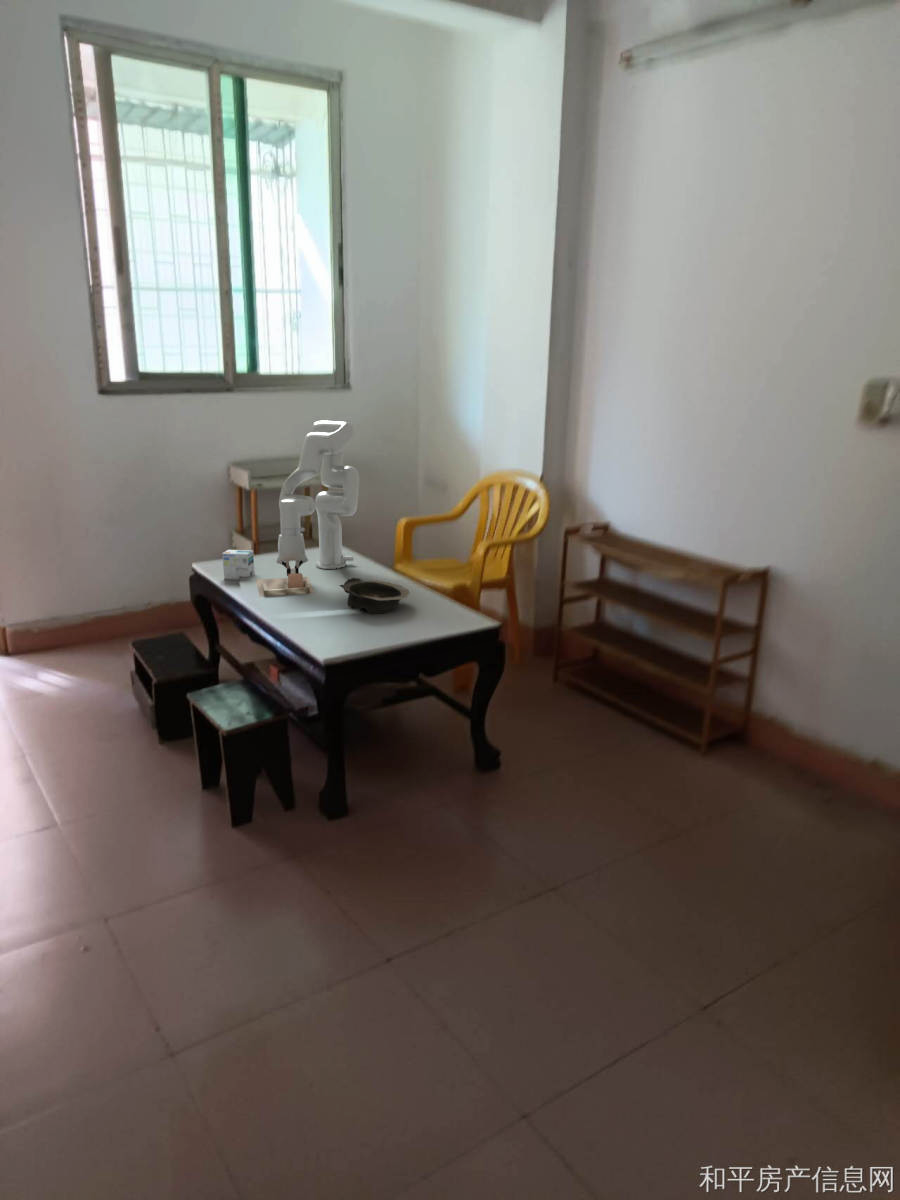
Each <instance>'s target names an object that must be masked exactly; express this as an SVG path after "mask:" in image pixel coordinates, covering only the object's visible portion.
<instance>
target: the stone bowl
mask: <svg viewBox="0 0 900 1200" xmlns="http://www.w3.org/2000/svg"><path fill="white" fill-rule="evenodd" d="M338 586H339V587H341V588H342V589H343V590H344V592H345V593H346V594H348V596H347V606H348V607H349V608H350V609H351V610H359V609H365V610H366V611H367V612H368V614H373V615H378V614H385V613H388V612H390V611H395V610H396V609H395V608H397V607H398V605H399V603H400V601H401V599H405V598H407V597H408V596H409V595H410V594H411V593H410V590H409V589H407V588H405V587H404V586H401V585H400V584H395V583H392V582H389V581H388V582H387V581H384V580H383V581H382V580H363V579H361V578H359V577H358V578H357V577H356V578H355V577H352V578H347V580H346V581H345V582H344V584H341V585H340V584H339V585H338ZM394 609H395V610H394Z"/></svg>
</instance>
